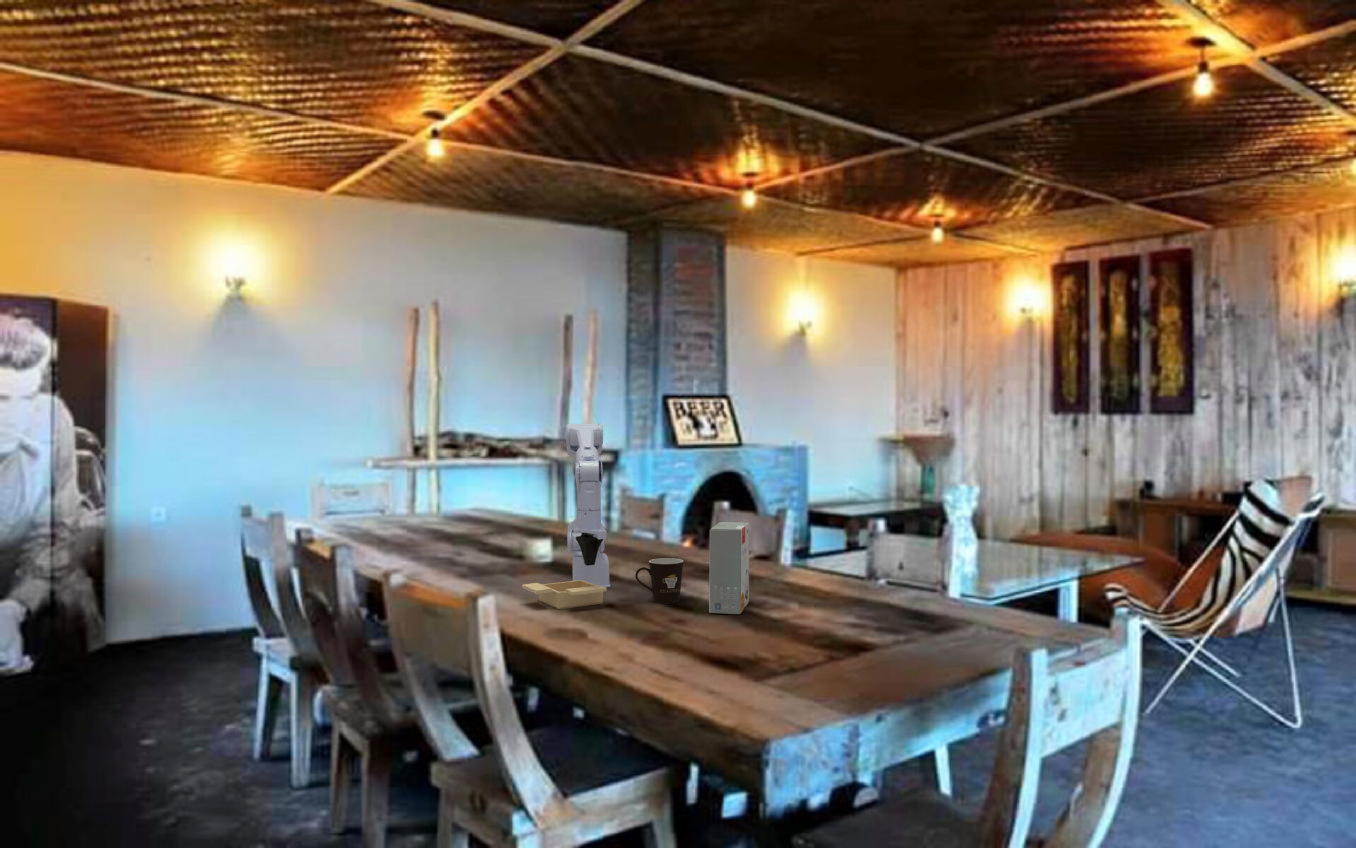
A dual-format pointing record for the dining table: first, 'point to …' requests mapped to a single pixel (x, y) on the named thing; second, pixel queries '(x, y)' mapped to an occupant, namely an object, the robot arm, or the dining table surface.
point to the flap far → (536, 588)
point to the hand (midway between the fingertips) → (589, 565)
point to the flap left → (586, 590)
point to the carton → (565, 600)
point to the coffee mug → (664, 579)
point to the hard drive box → (729, 568)
